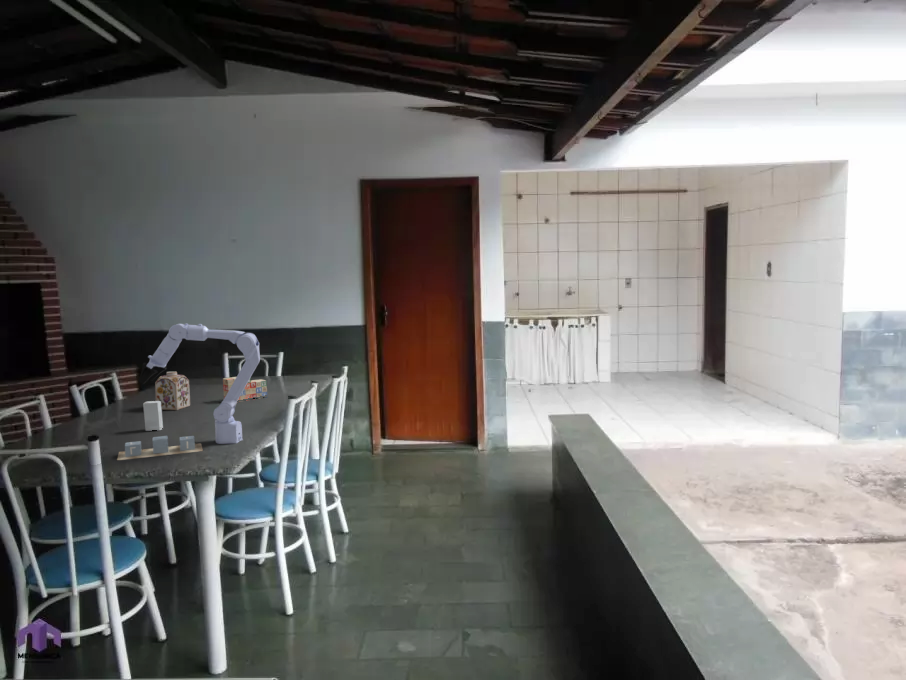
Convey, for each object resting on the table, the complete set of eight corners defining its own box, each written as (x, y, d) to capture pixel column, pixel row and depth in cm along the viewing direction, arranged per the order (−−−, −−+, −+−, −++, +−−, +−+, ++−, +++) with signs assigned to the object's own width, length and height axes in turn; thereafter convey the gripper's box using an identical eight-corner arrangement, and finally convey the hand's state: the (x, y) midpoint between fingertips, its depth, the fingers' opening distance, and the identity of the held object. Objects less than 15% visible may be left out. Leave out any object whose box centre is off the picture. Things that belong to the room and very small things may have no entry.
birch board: (201, 445, 250) (201, 443, 250) (202, 453, 239) (202, 450, 239) (119, 454, 239) (119, 451, 239) (117, 463, 228) (116, 460, 228)
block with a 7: (141, 451, 239) (140, 440, 238) (141, 455, 234) (140, 444, 234) (126, 453, 237) (125, 442, 236) (125, 457, 232) (124, 445, 232)
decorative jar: (177, 410, 317) (175, 373, 315) (155, 410, 319) (153, 373, 317) (191, 405, 328) (189, 370, 326) (170, 405, 330) (168, 369, 329)
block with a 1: (194, 446, 246) (193, 435, 245) (195, 449, 241) (194, 438, 241) (180, 447, 244) (179, 437, 243) (180, 451, 239) (179, 440, 239)
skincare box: (163, 428, 280) (161, 400, 278) (159, 430, 275) (158, 402, 274) (148, 428, 279) (146, 400, 278) (144, 431, 274) (142, 402, 273)
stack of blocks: (262, 396, 353) (261, 373, 352) (267, 397, 349) (266, 374, 348) (223, 401, 339) (222, 378, 338) (228, 403, 334) (227, 379, 333)
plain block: (168, 448, 242) (167, 435, 242) (168, 452, 238) (167, 438, 237) (153, 450, 240) (152, 437, 240) (153, 453, 236) (152, 440, 235)
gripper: (162, 344, 253) (143, 373, 253) (148, 347, 239) (127, 377, 239) (178, 354, 254) (158, 383, 254) (165, 357, 240) (144, 388, 240)
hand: (144, 381), depth 247 cm, fingers open, 7 cm apart
